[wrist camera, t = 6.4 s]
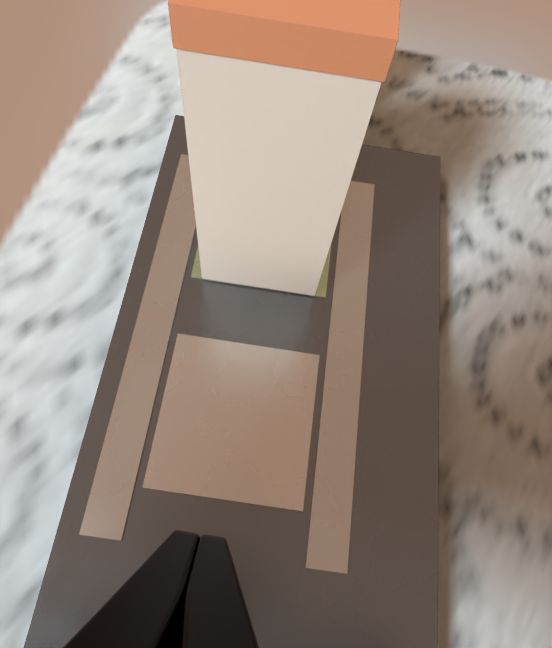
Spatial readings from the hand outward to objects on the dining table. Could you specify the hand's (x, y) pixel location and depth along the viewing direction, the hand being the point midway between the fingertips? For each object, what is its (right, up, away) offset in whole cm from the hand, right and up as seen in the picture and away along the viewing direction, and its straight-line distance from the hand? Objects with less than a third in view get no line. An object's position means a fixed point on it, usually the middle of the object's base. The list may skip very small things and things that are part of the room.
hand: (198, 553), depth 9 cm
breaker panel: (+1, +2, +10) cm, 10 cm away
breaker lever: (+1, +7, +11) cm, 13 cm away
